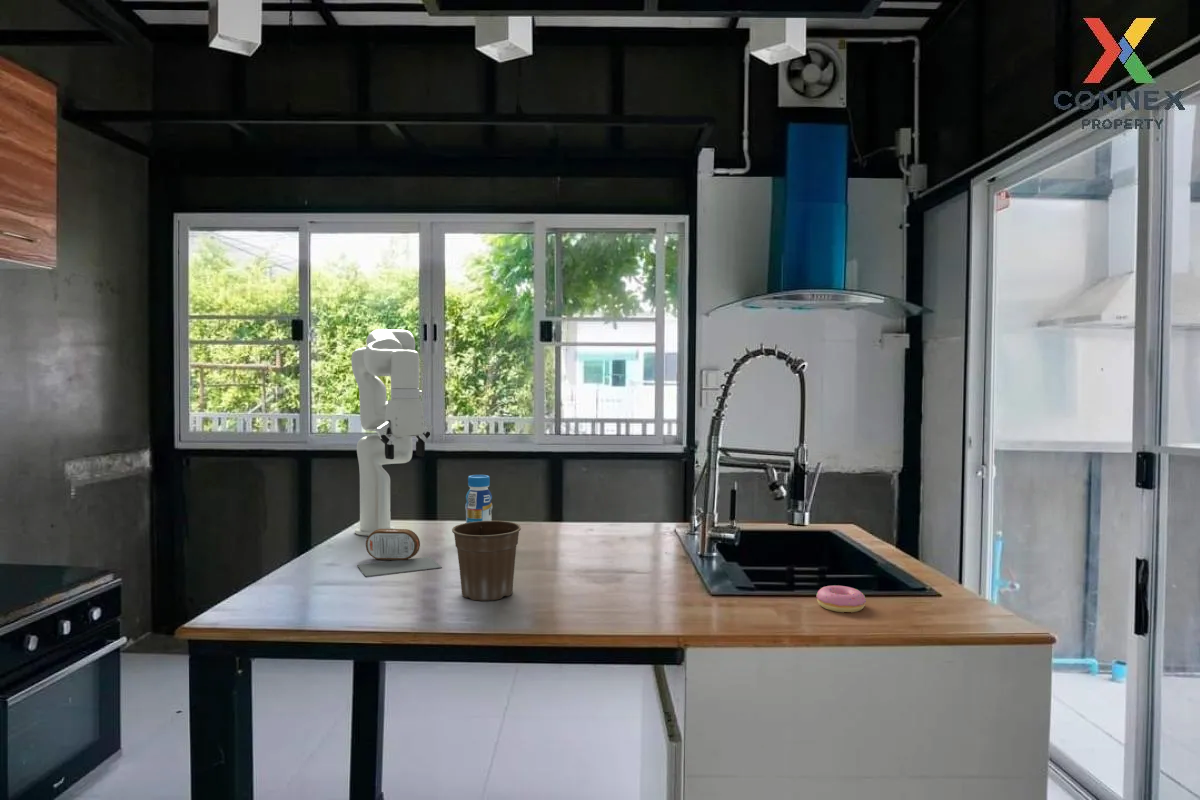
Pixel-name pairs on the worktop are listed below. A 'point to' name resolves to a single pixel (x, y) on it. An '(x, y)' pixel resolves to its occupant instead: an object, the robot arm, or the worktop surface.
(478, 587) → the plant pot
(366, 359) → the robot arm
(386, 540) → the tin
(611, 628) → the worktop surface
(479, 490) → the beverage bottle
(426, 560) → the mat
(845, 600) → the doughnut
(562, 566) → the worktop surface
